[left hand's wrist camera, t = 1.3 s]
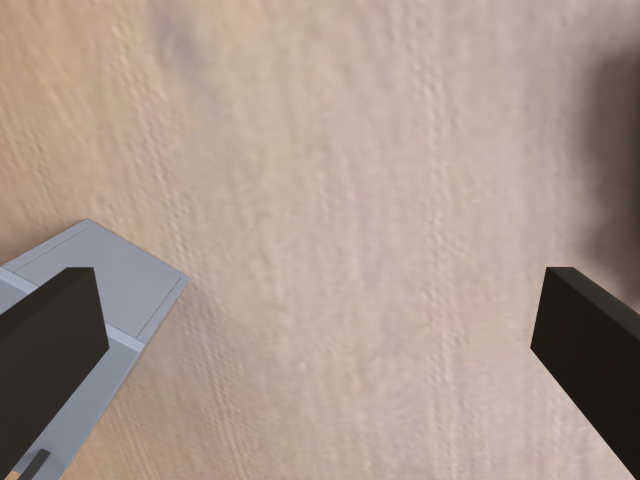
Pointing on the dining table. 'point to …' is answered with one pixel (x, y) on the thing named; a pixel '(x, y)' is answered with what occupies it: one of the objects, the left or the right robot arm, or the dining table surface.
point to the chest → (109, 279)
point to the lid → (82, 407)
